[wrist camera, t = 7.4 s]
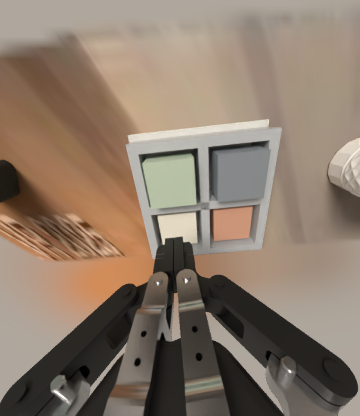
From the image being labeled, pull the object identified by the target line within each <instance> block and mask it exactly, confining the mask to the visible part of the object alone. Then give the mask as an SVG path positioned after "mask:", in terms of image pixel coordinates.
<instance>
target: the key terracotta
mask: <svg viewBox="0 0 360 416" xmlns="http://www.w3.org/2000/svg"><path fill="white" fill-rule="evenodd" d="M252 209H253V206H252V205H248V206H238V207H228V208H218V209H209V210H210V231H211V234H212V237H213V240H214V241H221V240H232V239H243V238H249V234H250V226H251V218H252Z"/></svg>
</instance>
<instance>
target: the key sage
mask: <svg viewBox="0 0 360 416" xmlns="http://www.w3.org/2000/svg"><path fill="white" fill-rule="evenodd" d="M142 165H143V170H144V175H145V180H146V185H147V190H148V195H149V200H150V204H151V209H158V208H168V207H178V206H188V205H197V203H196V187H195V170H194V157H193V156H192V154H191V152H190V153H181V154H171V155H162V156H153V157H147V158H146V160H145V161H144V162H143V163H142Z"/></svg>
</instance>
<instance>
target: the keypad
mask: <svg viewBox="0 0 360 416" xmlns="http://www.w3.org/2000/svg"><path fill="white" fill-rule="evenodd" d="M268 124H269V119H268V120H257V121H248V122H239V123H230V124H222V125H213V126H204V127H195V128H186V129H177V130H168V131H159V132H151V133H142V134H133V135H128V139H129V144H127V145H126V148H127V153H128V157H129V161H130V165H131V169H132V173H133V178H134V182H135V186H136V190H137V194H138V199H139V203H140V207H141V211H142V215H143V219H144V224H145V228H146V232H147V236H148V240H149V245H150V249H151V253H152V257H153V259H155V257H156V251H157V248H158V247H159V245H163V243H162V238H161V233H160V228H159V222H158V217H157V216H158V214H167V213H177V212H187V211H196V224H197V240H198V243H192V246H193V254H194V255H203V254H214V253H225V252H236V251H247V250H258V249H262V243H263V237H264V231H265V225H266V220H267V214H268V208H269V202H270V196H271V190H272V184H273V178H274V172H275V166H276V160H277V154H278V148H279V143H280V137H281V131H282V128H277V127H268ZM251 145H257V146H261V147H264V148H268V149H271V153H270V160H269V166H268V173H267V180H266V186H265V193H264V198H255V199H245V200H235V201H225V202H217V200H216V198H215V196H214V194H213V192H212V185H211V150H214V149H224V148H233V147H242V146H251ZM190 152H191V154H192V156H193V157H194V170H195V187H196V203H197V205H188V206H178V207H168V208H158V209H151V204H150V200H149V195H148V190H147V185H146V180H145V175H144V170H143V165H142V163H143V162H144V161H145V160H146V158H147V157H153V156H162V155H171V154H181V153H190ZM248 205H252V206H253V209H252V218H251V226H250V234H249V238H243V239H232V240H221V241H214V240H213V237H212V234H211V231H210V210H209V209H218V208H228V207H238V206H248Z"/></svg>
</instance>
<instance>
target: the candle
mask: <svg viewBox="0 0 360 416" xmlns="http://www.w3.org/2000/svg"><path fill="white" fill-rule="evenodd" d="M18 194H19V186H18V181H17V176H16V172H15V169H14V167H13V166H12V165H11V164H10V163H9V162H7V161H5V160H0V202H3V201H5V200H7V199H9V198H11V197H14V196H16V195H18Z"/></svg>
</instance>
